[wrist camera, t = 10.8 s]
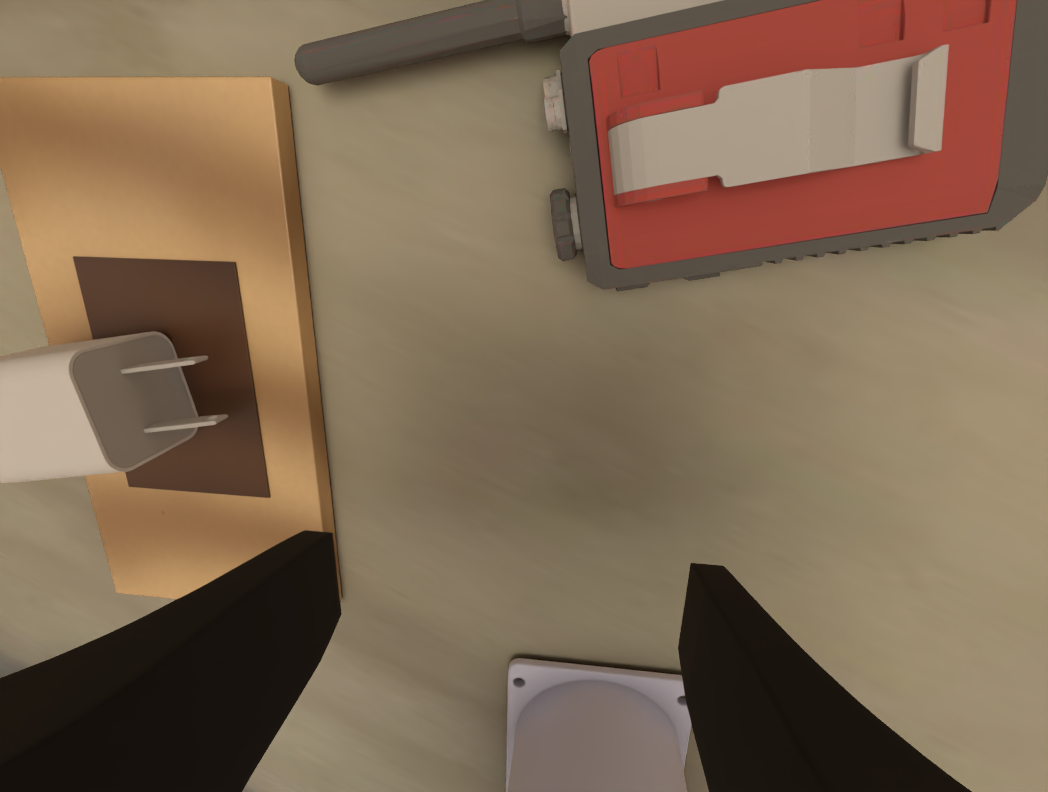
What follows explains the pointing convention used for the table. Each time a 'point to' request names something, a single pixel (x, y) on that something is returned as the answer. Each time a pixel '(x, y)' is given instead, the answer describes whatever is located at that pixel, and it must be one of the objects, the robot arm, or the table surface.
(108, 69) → the table surface
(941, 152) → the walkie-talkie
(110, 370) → the usb wall charger
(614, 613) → the table surface
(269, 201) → the board
